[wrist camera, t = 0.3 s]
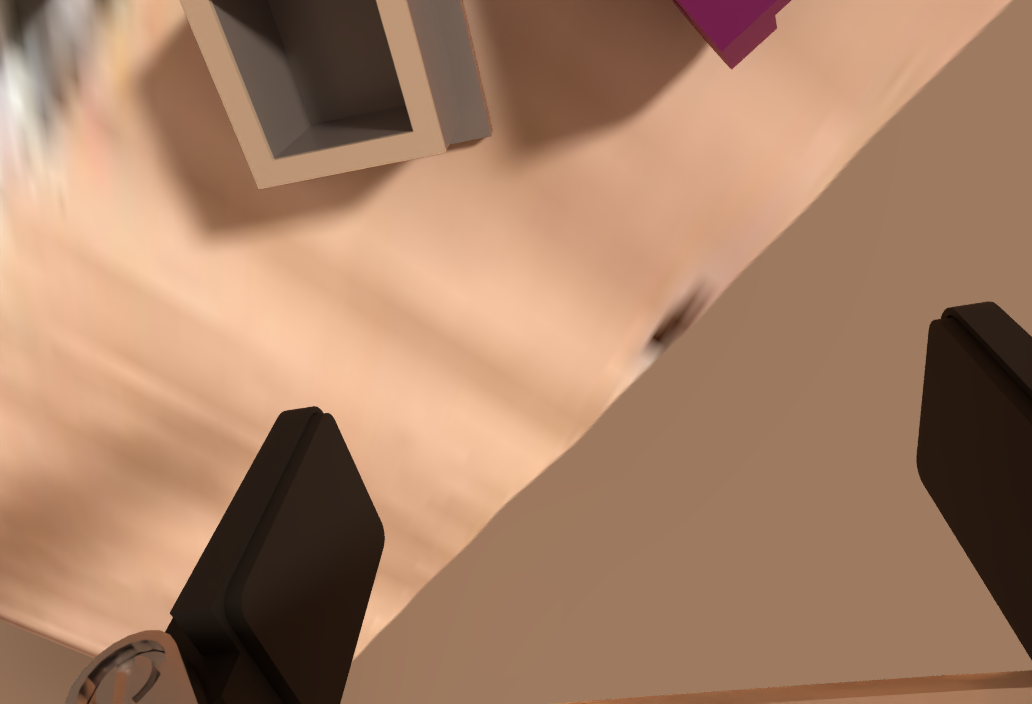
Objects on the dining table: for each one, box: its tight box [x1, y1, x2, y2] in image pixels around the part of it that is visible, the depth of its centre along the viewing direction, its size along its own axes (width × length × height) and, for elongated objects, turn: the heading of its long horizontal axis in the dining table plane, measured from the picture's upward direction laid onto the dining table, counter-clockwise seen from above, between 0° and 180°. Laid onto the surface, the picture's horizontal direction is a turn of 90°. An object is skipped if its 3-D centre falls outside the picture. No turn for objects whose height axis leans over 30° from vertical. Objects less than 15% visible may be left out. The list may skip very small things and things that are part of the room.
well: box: [180, 0, 493, 189], centre depth 34 cm, size 12×12×7 cm
